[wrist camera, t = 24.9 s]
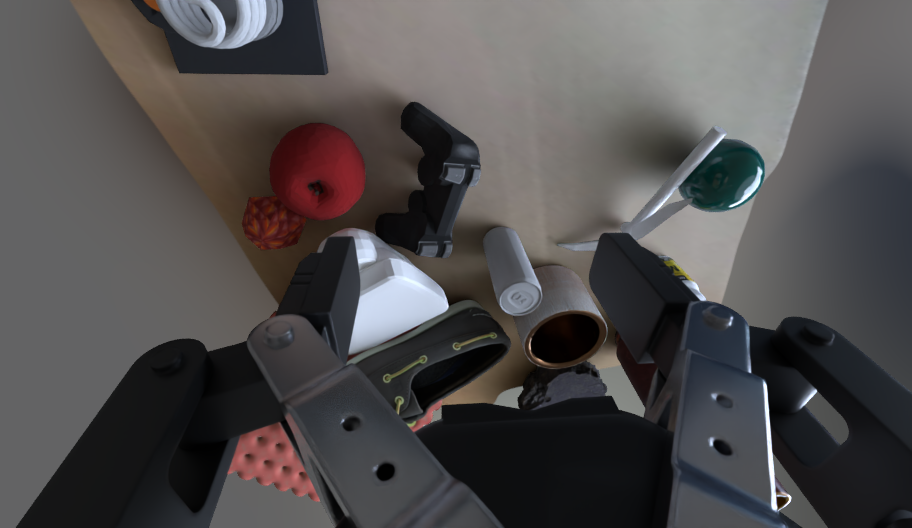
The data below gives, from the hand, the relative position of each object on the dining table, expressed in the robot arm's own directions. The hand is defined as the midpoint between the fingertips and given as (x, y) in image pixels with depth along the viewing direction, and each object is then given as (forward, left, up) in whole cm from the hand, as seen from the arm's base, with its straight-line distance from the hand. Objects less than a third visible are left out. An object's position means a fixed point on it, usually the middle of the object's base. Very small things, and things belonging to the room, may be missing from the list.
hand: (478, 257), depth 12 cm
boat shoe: (+34, -6, -25) cm, 43 cm away
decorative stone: (+13, -18, -31) cm, 38 cm away
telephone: (+23, -8, -21) cm, 32 cm away
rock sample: (+49, +22, -31) cm, 62 cm away
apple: (+7, -12, -31) cm, 34 cm away
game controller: (+10, -2, -31) cm, 33 cm away
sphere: (+8, +31, -31) cm, 45 cm away
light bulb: (-7, -15, -30) cm, 34 cm away
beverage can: (+18, +8, -31) cm, 37 cm away
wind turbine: (+2, +27, -25) cm, 36 cm away
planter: (+27, +16, -31) cm, 44 cm away
